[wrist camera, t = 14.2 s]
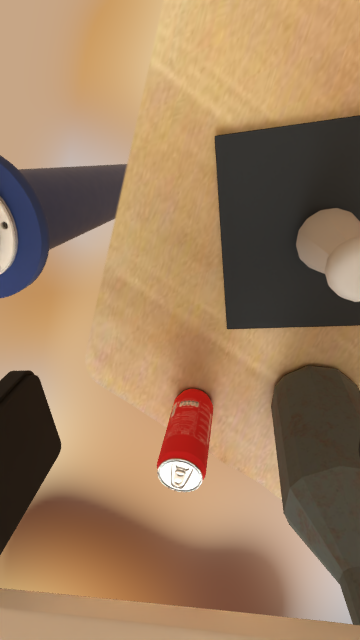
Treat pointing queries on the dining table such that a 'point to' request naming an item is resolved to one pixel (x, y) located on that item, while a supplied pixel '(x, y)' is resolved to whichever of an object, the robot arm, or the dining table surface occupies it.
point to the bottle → (322, 469)
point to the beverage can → (186, 442)
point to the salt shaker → (333, 249)
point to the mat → (283, 220)
